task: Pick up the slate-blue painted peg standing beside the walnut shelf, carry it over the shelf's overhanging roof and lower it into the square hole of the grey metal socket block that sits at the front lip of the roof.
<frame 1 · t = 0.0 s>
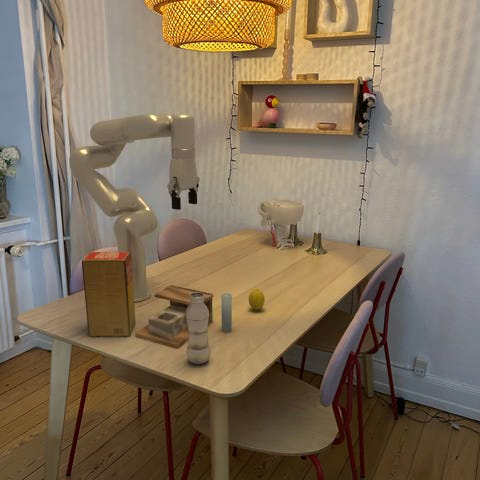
hand: (184, 206, 152), 37 cm above the table, tool pointing down, fingers open, 9 cm apart
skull: (278, 247, 235), on the table
plastic bottle: (198, 361, 129), on the table
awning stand: (175, 328, 147), on the table
lemon: (256, 310, 161), on the table
food packaging: (112, 330, 146), on the table
peg: (226, 330, 147), on the table
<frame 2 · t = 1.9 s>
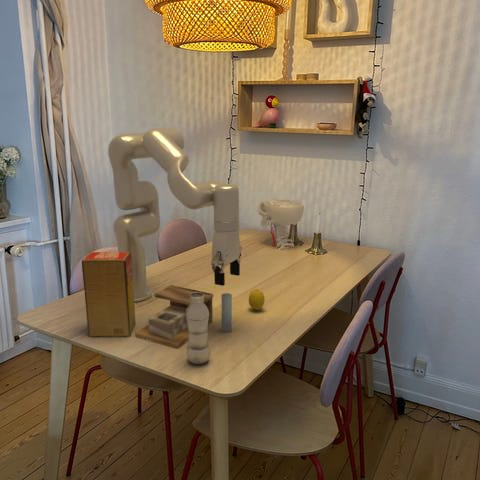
hand: (227, 279, 142), 17 cm above the table, tool pointing down, fingers open, 9 cm apart
nothing on the table moved.
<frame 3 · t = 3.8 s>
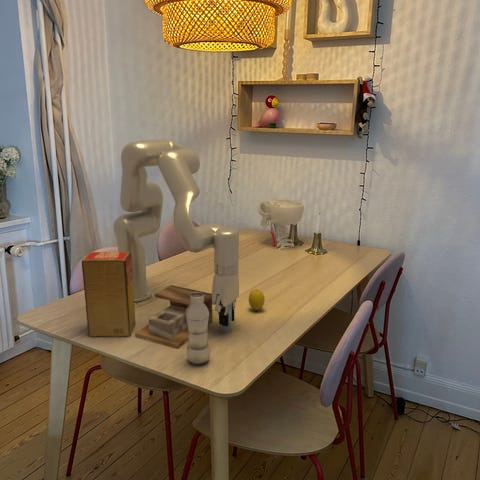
hand: (226, 322, 146), 3 cm above the table, tool pointing down, fingers closed on peg, 3 cm apart
peg: (226, 330, 147), on the table, touching gripper
everything else where it was.
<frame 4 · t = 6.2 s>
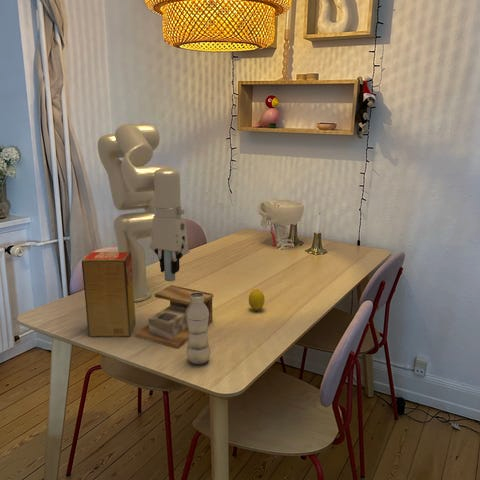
hand: (169, 270, 138), 21 cm above the table, tool pointing down, fingers closed on peg, 3 cm apart
peg: (170, 279, 139), point 18 cm above the table, touching gripper
everything else where it was.
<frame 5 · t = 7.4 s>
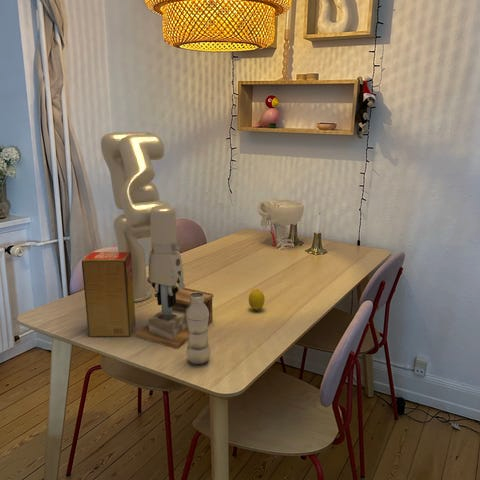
hand: (166, 304, 141), 10 cm above the table, tool pointing down, fingers closed on peg, 3 cm apart
peg: (166, 312, 141), point 7 cm above the table, touching gripper
everything else where it was.
when the fingers open (6 cm above the table, at t = 8.5 s): peg drops 2 cm, resting on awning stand.
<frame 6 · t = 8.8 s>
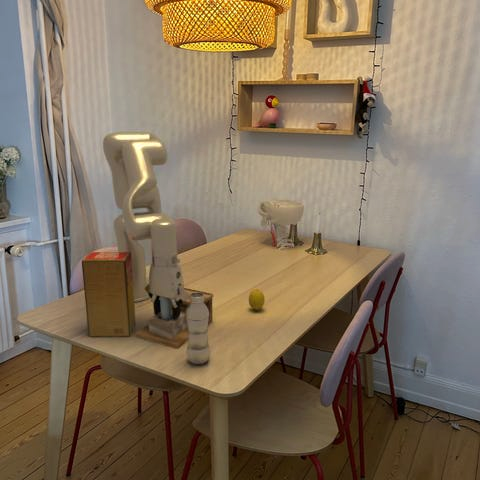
hand: (166, 314, 142), 7 cm above the table, tool pointing down, fingers open, 6 cm apart
peg: (167, 330, 143), point 1 cm above the table, touching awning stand
everything else where it was.
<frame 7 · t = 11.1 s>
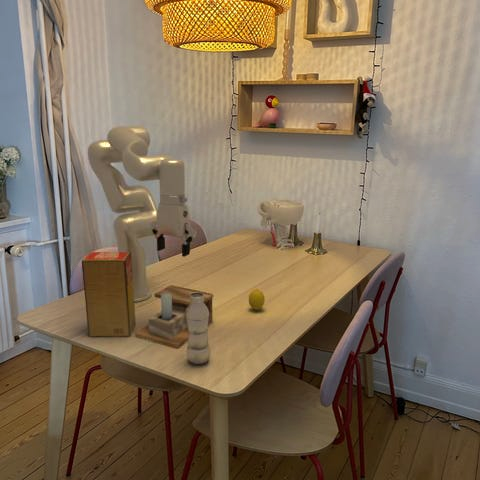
hand: (173, 252, 145), 24 cm above the table, tool pointing down, fingers open, 9 cm apart
nothing on the table moved.
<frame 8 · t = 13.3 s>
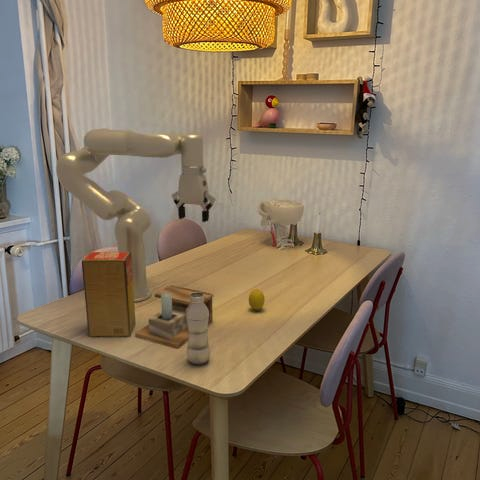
hand: (193, 219, 162), 30 cm above the table, tool pointing down, fingers open, 9 cm apart
nothing on the table moved.
at the end: peg 0.1 cm from the target spot on the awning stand, point 1.2 cm above the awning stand's base; peg tilted 0°; the gripper is holding nothing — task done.
